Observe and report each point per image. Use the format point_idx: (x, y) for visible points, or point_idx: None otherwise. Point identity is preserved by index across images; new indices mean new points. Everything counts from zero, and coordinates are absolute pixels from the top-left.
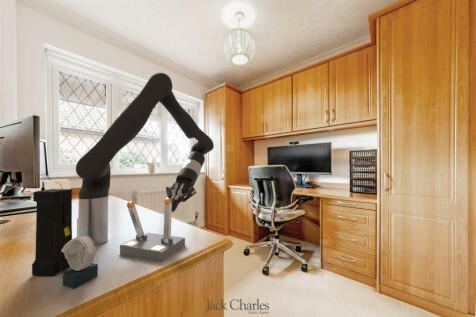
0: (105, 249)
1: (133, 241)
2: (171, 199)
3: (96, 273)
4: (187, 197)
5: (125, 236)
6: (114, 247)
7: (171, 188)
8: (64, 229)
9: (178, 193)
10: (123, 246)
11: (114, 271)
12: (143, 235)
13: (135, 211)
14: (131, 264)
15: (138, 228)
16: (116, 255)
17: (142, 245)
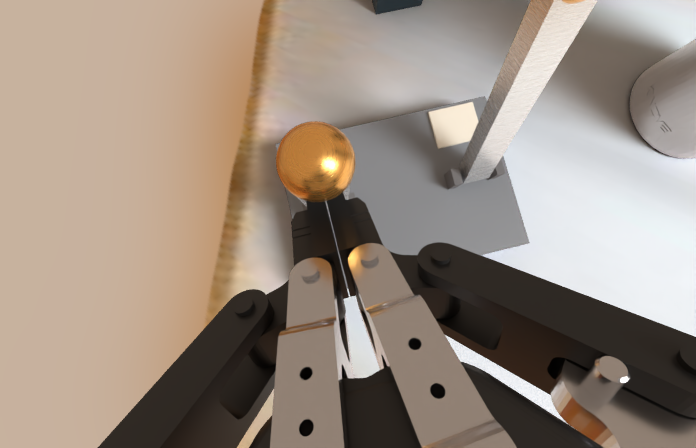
0: (559, 105)
1: (469, 140)
2: (287, 180)
3: (375, 3)
4: (230, 399)
5: (643, 217)
6: (550, 131)
7: (617, 421)
8: None
9: (309, 326)
10: (464, 102)
11: (361, 50)
12: (464, 173)
13: (526, 39)
14: (358, 97)
15: (478, 129)
16: None
17: (400, 141)
